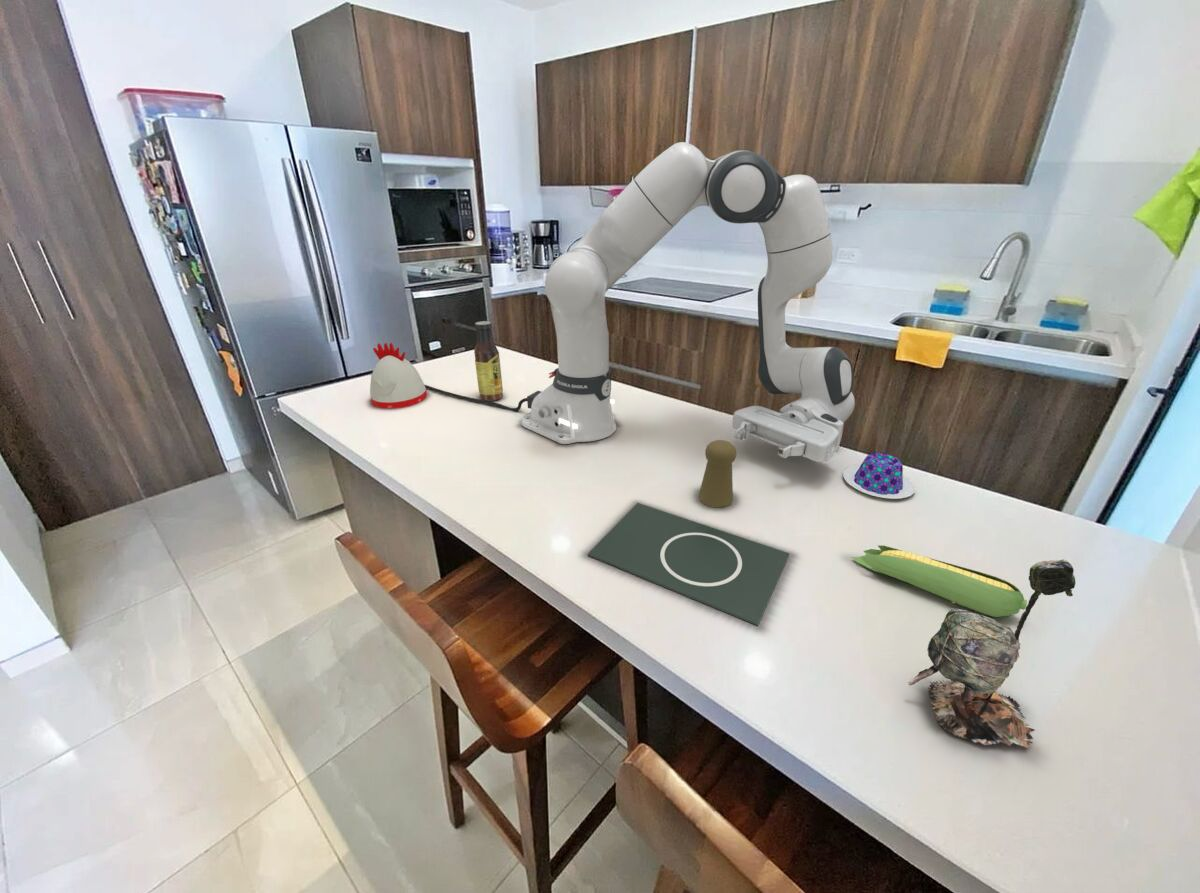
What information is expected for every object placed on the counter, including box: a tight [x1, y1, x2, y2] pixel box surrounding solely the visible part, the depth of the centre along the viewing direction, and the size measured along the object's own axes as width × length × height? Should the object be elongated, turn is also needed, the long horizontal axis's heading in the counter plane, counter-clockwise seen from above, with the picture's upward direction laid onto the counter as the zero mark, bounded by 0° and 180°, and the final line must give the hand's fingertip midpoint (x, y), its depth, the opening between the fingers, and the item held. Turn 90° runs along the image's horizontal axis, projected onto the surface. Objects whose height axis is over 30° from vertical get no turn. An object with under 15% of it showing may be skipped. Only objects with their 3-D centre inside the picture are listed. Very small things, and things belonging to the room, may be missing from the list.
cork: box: [698, 439, 738, 509], centre depth 87 cm, size 6×6×11 cm
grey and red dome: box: [369, 342, 428, 409], centre depth 129 cm, size 14×14×15 cm
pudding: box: [842, 452, 916, 500], centre depth 91 cm, size 12×12×5 cm
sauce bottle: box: [473, 320, 504, 402], centre depth 128 cm, size 7×6×20 cm
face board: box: [587, 502, 790, 627], centre depth 75 cm, size 26×16×1 cm, turn 58°
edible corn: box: [851, 544, 1028, 618], centre depth 68 cm, size 5×20×5 cm, turn 54°
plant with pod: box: [907, 559, 1077, 749], centre depth 48 cm, size 8×11×20 cm
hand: (758, 444), depth 92 cm, fingers open, 8 cm apart
